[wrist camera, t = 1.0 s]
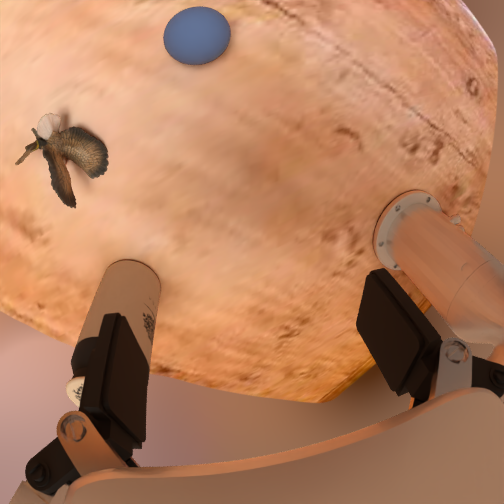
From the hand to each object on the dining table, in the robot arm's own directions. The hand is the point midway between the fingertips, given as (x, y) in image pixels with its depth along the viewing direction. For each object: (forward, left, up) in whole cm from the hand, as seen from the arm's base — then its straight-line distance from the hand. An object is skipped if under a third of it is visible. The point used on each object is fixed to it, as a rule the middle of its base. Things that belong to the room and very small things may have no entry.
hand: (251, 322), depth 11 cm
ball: (-1, -14, -20) cm, 24 cm away
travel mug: (+16, +11, -23) cm, 30 cm away
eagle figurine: (+15, -8, -23) cm, 29 cm away
